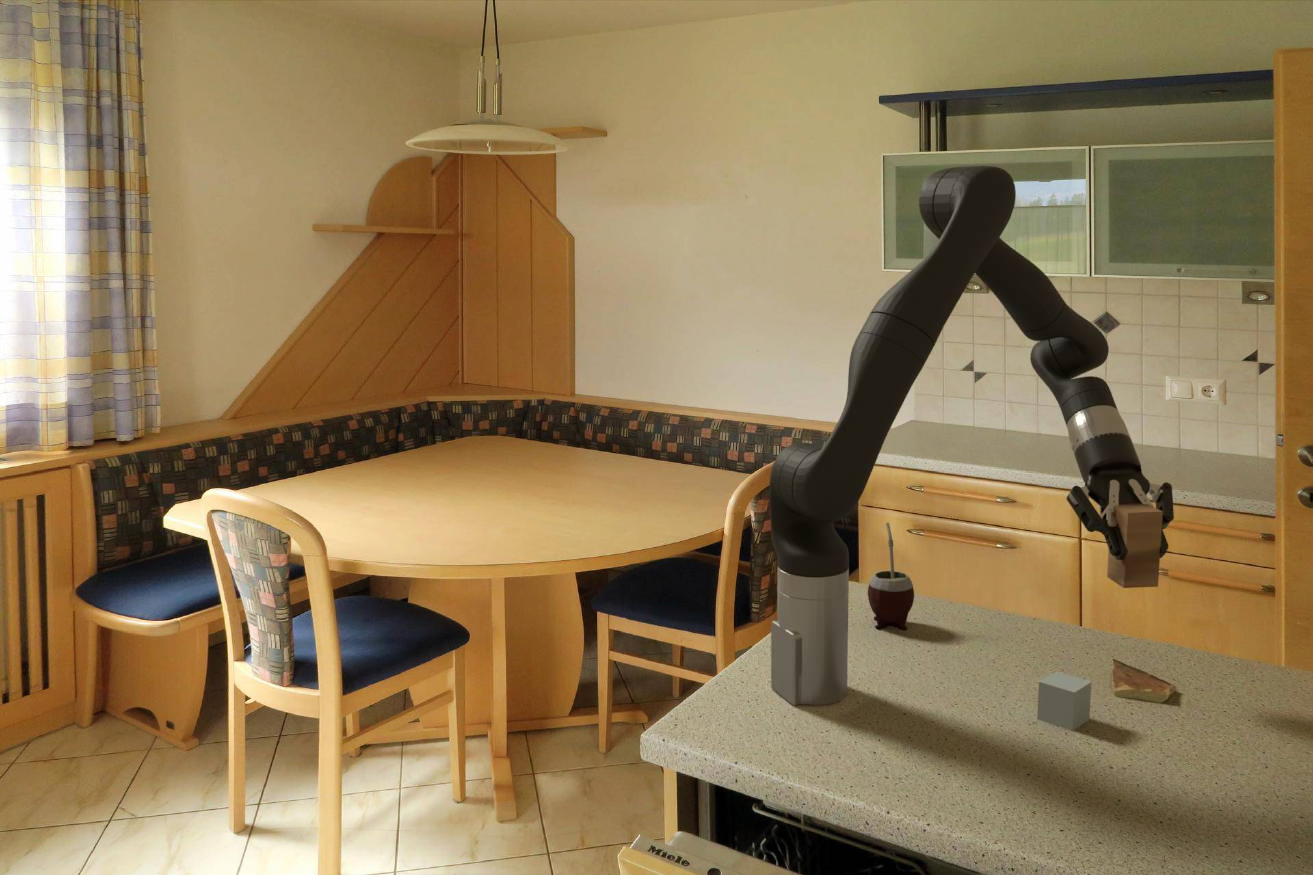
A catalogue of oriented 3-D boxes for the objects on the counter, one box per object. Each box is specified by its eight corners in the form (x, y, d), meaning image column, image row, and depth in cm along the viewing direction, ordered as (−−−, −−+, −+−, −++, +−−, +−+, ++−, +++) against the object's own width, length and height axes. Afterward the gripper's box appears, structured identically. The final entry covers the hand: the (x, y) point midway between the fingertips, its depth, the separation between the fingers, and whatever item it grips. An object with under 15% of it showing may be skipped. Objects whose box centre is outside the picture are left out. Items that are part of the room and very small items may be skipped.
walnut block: (1157, 586, 132) (1162, 511, 131) (1123, 588, 132) (1128, 512, 130) (1140, 575, 137) (1144, 502, 135) (1107, 577, 137) (1111, 504, 135)
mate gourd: (892, 636, 156) (894, 540, 153) (853, 622, 162) (855, 530, 159) (924, 625, 160) (927, 532, 157) (885, 611, 166) (887, 522, 164)
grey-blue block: (1072, 731, 124) (1074, 692, 123) (1037, 719, 127) (1039, 681, 127) (1089, 719, 127) (1091, 681, 126) (1054, 708, 130) (1056, 671, 130)
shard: (1112, 668, 143) (1112, 656, 143) (1173, 676, 140) (1174, 664, 140) (1111, 699, 134) (1111, 686, 133) (1176, 708, 131) (1177, 695, 130)
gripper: (1060, 432, 138) (1098, 544, 128) (1164, 428, 139) (1209, 539, 129) (1042, 463, 144) (1077, 572, 135) (1141, 459, 145) (1183, 567, 135)
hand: (1141, 555), depth 132 cm, fingers closed on walnut block, 4 cm apart
